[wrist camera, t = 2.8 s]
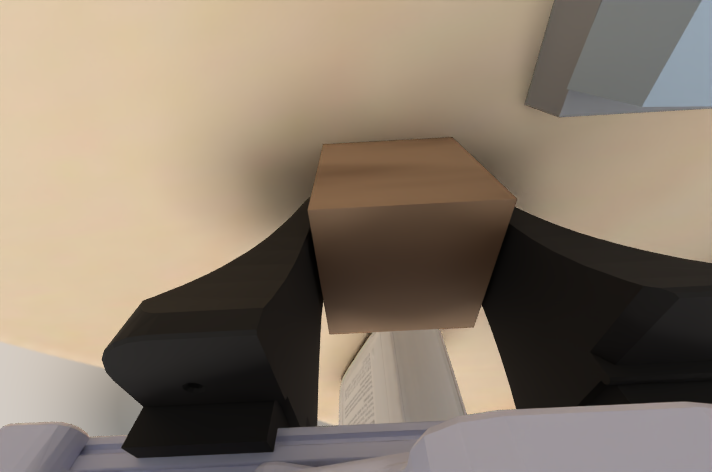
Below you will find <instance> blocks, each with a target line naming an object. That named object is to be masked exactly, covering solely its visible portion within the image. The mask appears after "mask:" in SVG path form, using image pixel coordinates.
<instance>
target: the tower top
mask: <svg viewBox="0 0 712 472" xmlns="http://www.w3.org/2000/svg"><path fill="white" fill-rule="evenodd" d="M567 89H568V90H573V91H577V92H581V93H585V94H589V95H594V96H598V97H602V98H606V99H611V100H615V101H619V102H623V103H627V104H632V105H636V106H640V107H691V106H712V0H602V2H601V5H600V7H599V10H598V12H597V15H596V17H595V20H594V22H593V25H592V27H591V29H590V32H589V34H588V37H587V39H586V42H585V44H584V47H583V49H582V52H581V54H580V57H579V59H578V62H577V64H576V67H575V69H574V72H573V74H572V77H571V79H570V82H569V84H568V87H567Z"/></svg>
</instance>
